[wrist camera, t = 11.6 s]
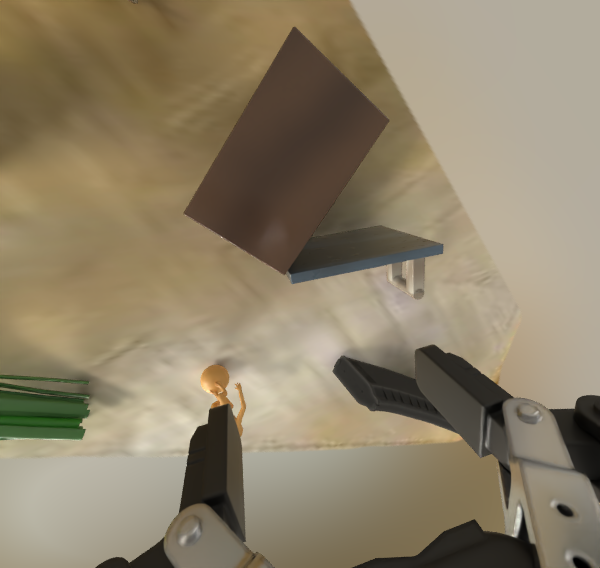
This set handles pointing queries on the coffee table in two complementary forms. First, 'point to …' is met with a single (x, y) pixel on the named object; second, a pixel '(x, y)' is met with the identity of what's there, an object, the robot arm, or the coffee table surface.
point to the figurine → (221, 389)
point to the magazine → (387, 391)
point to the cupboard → (287, 156)
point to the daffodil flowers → (41, 412)
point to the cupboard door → (367, 257)
